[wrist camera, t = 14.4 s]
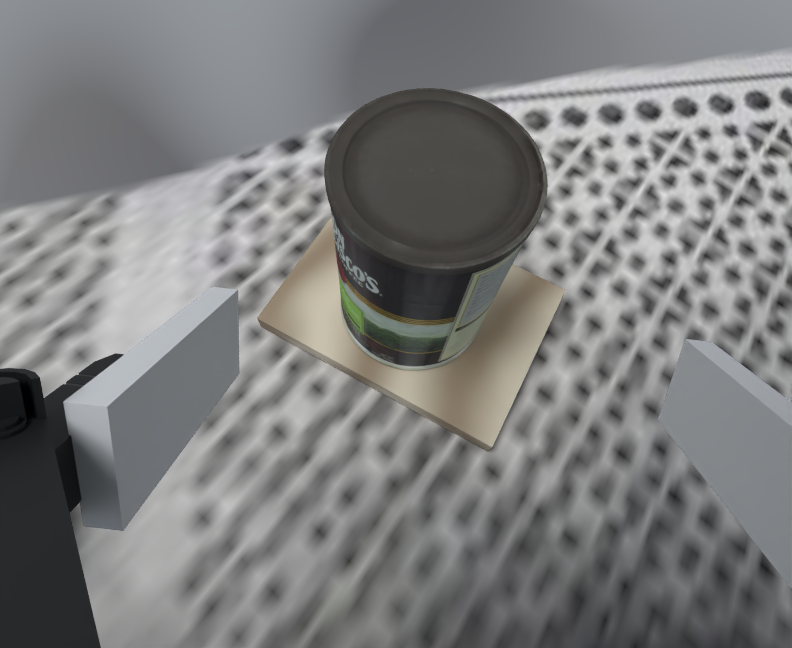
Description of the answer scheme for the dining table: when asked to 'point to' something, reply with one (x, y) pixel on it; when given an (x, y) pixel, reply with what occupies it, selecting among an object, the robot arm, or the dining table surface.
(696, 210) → the dining table surface
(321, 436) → the dining table surface
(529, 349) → the plain beige board
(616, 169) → the dining table surface
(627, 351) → the dining table surface
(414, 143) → the coffee can
